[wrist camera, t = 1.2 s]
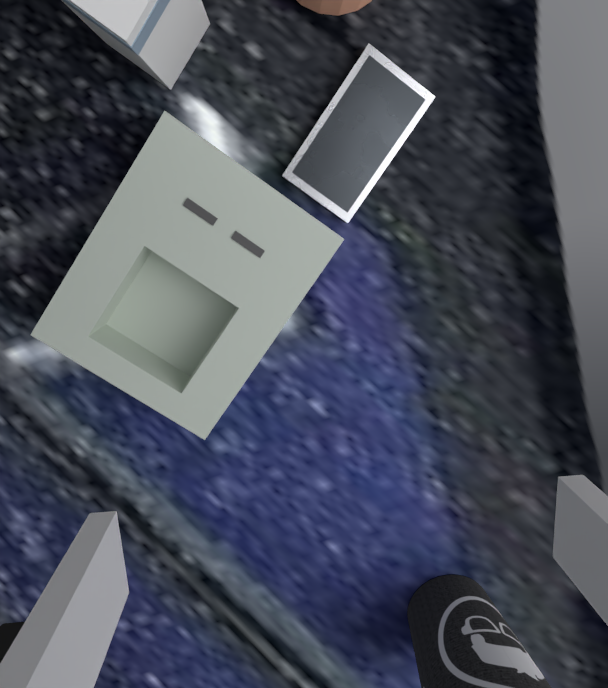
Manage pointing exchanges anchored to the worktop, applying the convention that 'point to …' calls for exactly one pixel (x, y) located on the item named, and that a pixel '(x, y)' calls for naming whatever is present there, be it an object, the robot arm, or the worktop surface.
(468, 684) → the coffee cup
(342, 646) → the worktop surface
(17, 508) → the worktop surface
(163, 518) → the worktop surface
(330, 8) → the pepper shaker
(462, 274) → the worktop surface
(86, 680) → the robot arm
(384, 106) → the phone
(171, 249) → the outlet plate
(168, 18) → the block
